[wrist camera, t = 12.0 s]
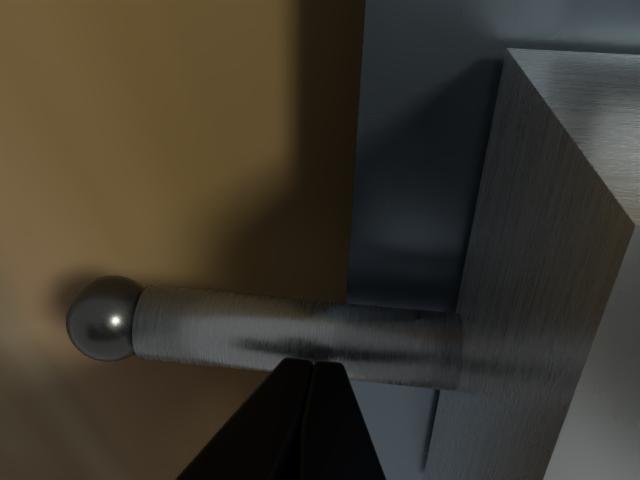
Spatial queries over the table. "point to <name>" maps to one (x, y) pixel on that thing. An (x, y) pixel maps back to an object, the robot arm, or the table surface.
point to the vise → (439, 162)
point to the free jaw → (471, 295)
